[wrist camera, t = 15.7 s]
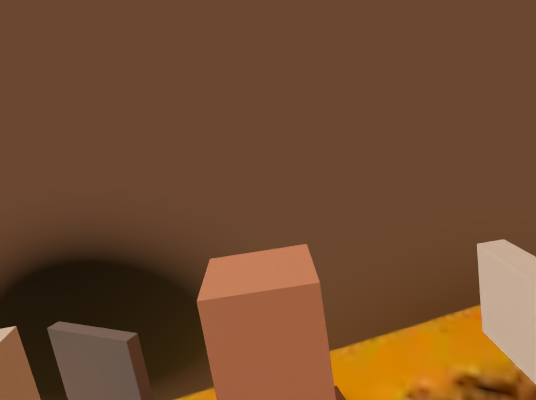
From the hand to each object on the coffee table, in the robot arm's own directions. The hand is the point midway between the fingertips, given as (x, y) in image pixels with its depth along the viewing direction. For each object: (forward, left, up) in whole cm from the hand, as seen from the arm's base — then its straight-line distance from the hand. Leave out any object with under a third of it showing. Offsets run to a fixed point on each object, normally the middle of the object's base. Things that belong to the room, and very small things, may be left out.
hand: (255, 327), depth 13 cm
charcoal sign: (+20, -10, -22) cm, 31 cm away
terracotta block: (+6, -10, -15) cm, 19 cm away
